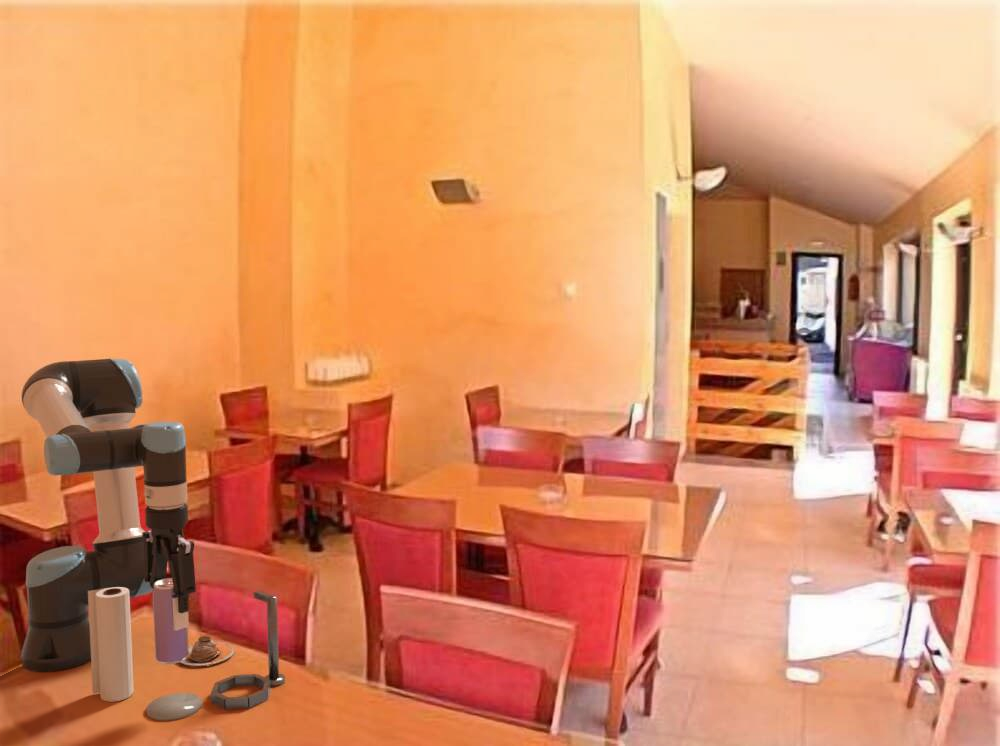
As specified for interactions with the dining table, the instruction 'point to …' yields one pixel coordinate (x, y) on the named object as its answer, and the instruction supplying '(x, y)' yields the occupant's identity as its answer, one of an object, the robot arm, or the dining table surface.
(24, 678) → the dining table surface
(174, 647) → the beverage can
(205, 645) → the pastry
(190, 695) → the coaster
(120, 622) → the paper towel roll
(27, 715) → the dining table surface
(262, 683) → the stand
